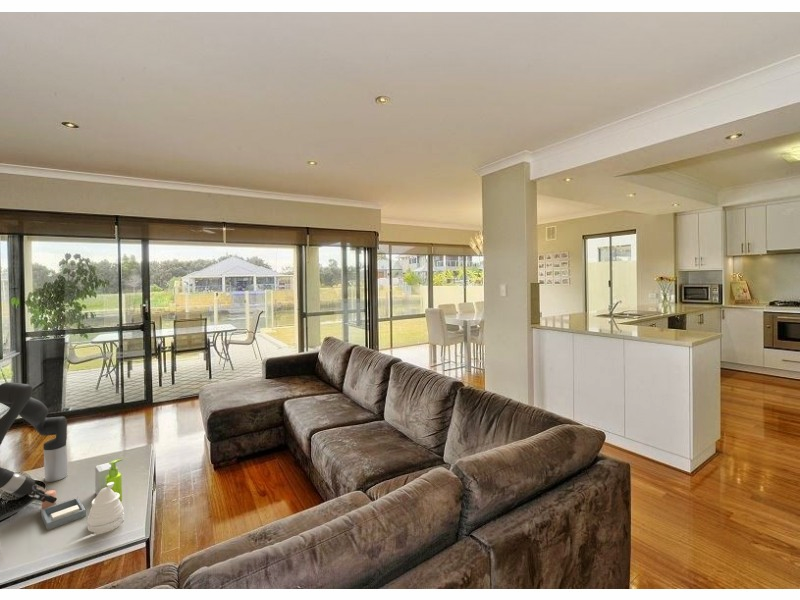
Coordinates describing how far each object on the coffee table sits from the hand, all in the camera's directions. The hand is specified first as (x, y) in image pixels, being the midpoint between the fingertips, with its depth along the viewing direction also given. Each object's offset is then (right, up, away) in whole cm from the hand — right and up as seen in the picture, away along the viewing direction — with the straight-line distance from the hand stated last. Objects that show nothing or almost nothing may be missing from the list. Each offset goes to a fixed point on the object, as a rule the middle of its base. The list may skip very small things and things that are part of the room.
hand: (53, 498), depth 181 cm
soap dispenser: (+24, -5, +6) cm, 26 cm away
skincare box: (+15, -4, +11) cm, 20 cm away
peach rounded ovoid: (-1, -5, -1) cm, 5 cm away
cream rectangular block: (+14, -4, -10) cm, 18 cm away
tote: (+11, -5, -7) cm, 14 cm away
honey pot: (+33, -6, -11) cm, 36 cm away
